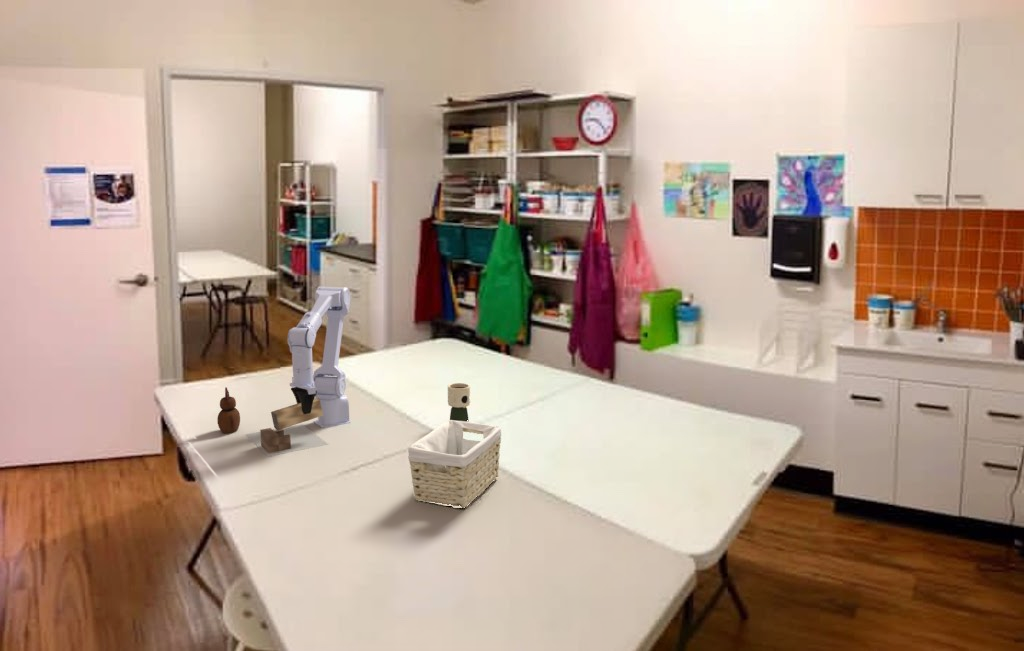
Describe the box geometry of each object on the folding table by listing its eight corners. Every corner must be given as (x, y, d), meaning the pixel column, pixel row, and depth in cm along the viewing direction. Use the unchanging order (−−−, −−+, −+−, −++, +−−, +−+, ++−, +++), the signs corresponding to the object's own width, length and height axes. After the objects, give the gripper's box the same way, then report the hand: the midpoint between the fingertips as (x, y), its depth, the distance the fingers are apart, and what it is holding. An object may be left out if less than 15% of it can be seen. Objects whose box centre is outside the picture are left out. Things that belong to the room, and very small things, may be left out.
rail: (319, 412, 240) (316, 397, 239) (322, 415, 237) (319, 400, 236) (274, 427, 233) (270, 411, 231) (277, 430, 230) (274, 414, 229)
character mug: (461, 431, 248) (461, 391, 245) (441, 428, 250) (440, 388, 248) (476, 421, 258) (476, 382, 255) (456, 418, 260) (456, 380, 258)
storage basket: (464, 514, 190) (464, 456, 187) (405, 503, 196) (404, 446, 193) (503, 478, 212) (504, 425, 209) (449, 469, 218) (448, 418, 215)
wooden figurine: (232, 436, 242) (229, 389, 239) (215, 435, 243) (211, 388, 240) (244, 429, 248) (241, 383, 245) (227, 428, 249) (224, 382, 246)
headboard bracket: (283, 441, 236) (282, 425, 235) (291, 448, 231) (290, 432, 230) (261, 445, 233) (260, 429, 232) (268, 453, 227) (267, 436, 226)
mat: (302, 425, 252) (302, 424, 252) (328, 445, 235) (328, 444, 235) (245, 435, 242) (245, 434, 242) (268, 457, 225) (268, 456, 225)
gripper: (281, 364, 237) (283, 407, 239) (297, 374, 225) (300, 420, 228) (304, 361, 240) (306, 404, 243) (321, 371, 229) (323, 416, 231)
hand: (304, 411), depth 236 cm, fingers closed on rail, 3 cm apart
